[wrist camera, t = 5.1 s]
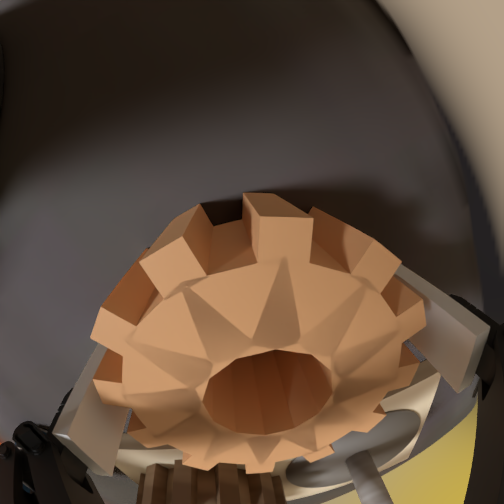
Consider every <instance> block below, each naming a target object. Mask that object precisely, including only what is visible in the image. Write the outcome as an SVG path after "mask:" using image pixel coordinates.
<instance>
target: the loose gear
mask: <svg viewBox="0 0 504 504" xmlns="http://www.w3.org/2000/svg"><path fill="white" fill-rule="evenodd" d="M401 263H402V261H401V260H399V259H398V258H397V257H396V256H395V255H393V254H392V253H391V252H390V251H389V250H387V249H386V248H385V247H384V246H382V245H381V244H380V243H379V242H377V241H376V240H375V239H373V238H372V237H370V236H368V235H366V234H364V233H363V232H361V231H359V230H357V229H355V228H353V227H352V226H350V225H348V224H346V223H344V222H342V221H340V220H338V219H337V218H335V217H333V216H331V215H329V214H327V213H325V212H323V211H321V210H319V209H317V208H315V207H312V208H311V210H310V212H309V213H308V214H306V213H305V212H303V211H302V210H300V209H298V208H297V207H295V206H293V205H292V204H290V203H289V202H287V201H285V200H284V199H282V198H280V197H279V196H277V195H275V194H273V193H243V206H242V219H241V220H237V221H233V222H229V223H225V224H221V225H217V226H213V225H212V223H211V222H210V220H209V218H208V216H207V215H206V213H205V211H204V210H203V208H202V206H201V204H198V205H196V206H195V207H193V208H191V209H189V210H188V211H186V212H184V213H183V214H181V215H179V216H178V217H176V218H174V219H173V220H172V222H171V223H170V224H169V225H168V226H167V228H166V229H165V230H164V231H163V232H162V234H161V235H160V236H159V237H158V239H157V240H156V241H155V242H154V243H153V245H152V246H151V247H150V248H149V249H148V248H146V249H145V251H144V252H143V253H142V254H141V255H140V257H139V258H138V259H137V260H136V262H135V263H134V264H133V265H132V267H131V268H130V269H129V270H128V272H127V273H126V274H125V275H124V277H123V278H122V279H121V281H120V282H119V283H118V284H117V286H116V287H115V288H114V290H113V291H112V292H111V294H110V295H109V296H108V298H107V299H106V300H105V302H104V303H103V304H102V306H101V308H100V310H99V313H98V316H97V319H96V322H95V325H94V328H93V331H92V334H91V337H90V338H91V339H93V340H95V341H96V342H98V343H100V344H102V345H103V346H105V347H107V348H108V349H107V351H106V352H105V354H104V356H103V358H102V360H101V362H100V364H99V366H98V368H97V371H96V373H95V375H94V377H93V382H94V384H95V387H96V389H97V391H98V394H99V396H100V398H101V401H102V403H103V404H108V405H114V406H120V407H127V408H131V409H132V410H133V411H132V414H131V418H130V422H129V426H128V430H127V433H128V434H129V435H130V436H132V437H133V438H134V439H136V440H137V441H138V442H140V443H141V444H142V445H144V446H145V447H147V448H152V447H157V446H162V445H167V444H168V445H170V446H172V447H175V448H177V449H179V450H181V451H183V458H182V464H183V465H187V466H190V467H194V468H198V469H202V470H207V471H208V470H210V469H211V468H212V467H214V466H215V465H216V464H218V463H219V462H221V463H232V464H245V469H246V474H253V473H265V472H273V469H274V465H275V462H279V461H283V460H287V459H292V458H296V457H300V456H303V457H304V458H305V459H306V460H308V461H309V462H310V463H311V462H314V461H316V460H319V459H321V458H324V457H326V456H328V455H331V454H333V453H335V452H334V449H333V446H332V444H331V443H333V442H334V441H336V440H338V439H339V438H341V437H343V436H344V435H346V434H347V433H349V432H351V431H358V432H366V433H367V432H369V431H370V430H371V429H372V428H373V427H374V426H375V425H377V424H378V423H379V422H380V421H381V420H382V419H383V418H384V417H385V416H386V413H385V411H384V410H383V408H382V406H381V405H380V402H381V401H382V399H383V398H384V397H385V395H386V394H387V392H388V391H392V390H396V389H399V388H403V387H406V386H409V385H410V383H411V381H412V379H413V377H414V375H415V373H416V371H417V368H418V366H419V364H420V361H419V360H418V359H417V358H416V357H415V356H414V354H413V353H412V352H411V351H410V350H409V349H408V348H407V347H406V345H405V344H404V343H403V342H404V341H406V340H407V339H408V338H410V337H411V336H413V335H414V334H416V333H417V332H418V331H420V330H421V329H423V328H424V327H425V326H427V325H426V317H425V310H424V304H423V299H422V298H421V297H420V296H418V295H417V294H416V293H414V292H413V291H412V290H411V289H409V288H408V287H407V286H405V285H404V284H403V283H401V282H400V281H399V280H397V279H396V278H395V277H393V275H394V273H395V272H396V270H397V269H398V267H399V266H400V264H401Z"/></svg>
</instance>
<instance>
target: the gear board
mask: <svg viewBox="0 0 504 504" xmlns="http://www.w3.org/2000/svg"><path fill="white" fill-rule="evenodd" d="M440 377H441V374H440V373H439V372H438V371H437V370H436V369H435V368H434V367H433V365H432V364H431V363H430V362H429V361H428V360H425V361H423V362H421V363H420V364H419V366H418V368H417V371H416V373H415V375H414V377H413V379H412V381H411V383H410V385H409V386H406V387H403V388H399V389H396V390H392V391H388V392H387V394H386V395H385V397H384V398H383V399H382V401H381V402H380V405H381V406H382V408H383V410H384V411H385V413H386V416H385V417H384V418H383V419H382V420H381V421H380V422H379V423H378V424H377V425H375V426H374V427H373V428H372V429H371V430H370V431H369V432H367V433H366V432H358V431H351V432H349V433H347V434H346V435H344V436H343V437H341V438H339V439H338V440H336V441H334V442H333V443H331V444H332V446H333V449H334V452H335V453H333V454H331V455H328V456H326V457H324V458H321V459H319V460H316V461H314V462H311V463H310V462H309V461H308V460H306V459H305V458H304V457H303V456H300V457H296V458H292V459H287V460H283V461H279V462H275V465H274V469H273V472H265V473H253V474H246V469H245V464H232V463H221V462H219V463H218V464H216V465H215V466H214V467H212V468H211V469H210V470H208V471H207V470H202V469H198V468H194V467H190V466H187V465H183V464H182V458H183V451H181V450H179V449H177V448H175V447H172V446H170V445H168V444H167V445H162V446H157V447H152V448H147V447H145V446H144V445H142V444H141V443H140V442H138V441H137V440H136V439H134V438H133V437H132V436H130V435H129V434H128V433H123V434H122V437H121V441H120V445H119V449H118V453H117V457H116V461H115V466H116V467H117V468H119V469H120V470H121V471H122V472H123V473H124V474H126V475H127V476H128V477H129V478H131V479H132V480H133V481H134V482H136V483H137V484H138V485H139V487H138V494H137V502H136V504H287V502H286V501H289V500H294V499H298V498H302V497H306V496H310V495H314V494H318V493H321V492H324V491H328V490H331V489H334V488H337V487H340V486H343V485H346V484H349V483H352V482H353V483H354V486H355V488H356V491H357V493H358V496H359V498H360V501H361V503H362V504H393V502H392V500H391V498H390V495H389V493H388V491H387V489H386V487H385V484H384V482H383V480H382V478H381V476H380V474H379V472H380V471H382V470H384V469H386V468H389V467H391V466H393V465H395V464H397V463H399V462H401V461H403V460H405V459H407V458H408V457H409V455H410V453H411V451H412V449H413V447H414V445H415V443H416V440H417V438H418V436H419V434H420V431H421V429H422V427H423V424H424V422H425V419H426V417H427V414H428V412H429V409H430V407H431V404H432V401H433V398H434V395H435V392H436V389H437V386H438V383H439V380H440Z"/></svg>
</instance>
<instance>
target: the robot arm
mask: <svg viewBox="0 0 504 504" xmlns="http://www.w3.org/2000/svg"><path fill="white" fill-rule="evenodd" d="M3 80H4V59H3V51H2V46H1V43H0V111H1V103H2V94H3ZM393 277H395V278H396V279H397V280H399V281H400V282H401V283H403V284H404V285H405V286H407V287H408V288H409V289H411V290H412V291H413V292H414V293H416V294H417V295H418V296H420V297H421V298H422V299H423V304H424V310H425V317H426V325H427V326H425V327H424V328H423V329H421V330H420V331H418V332H417V333H416V334H414V335H413V336H411V337H410V338H408V339H409V341H410V342H411V343H412V344H413V345H414V346H415V347H416V348H417V349H418V350H419V351H420V352H421V353H422V354H423V356H424V357H425V358H426V359H427V360H428V361H429V362H430V363H431V364H432V365H433V367H434V368H435V369H436V370H437V371H438V372H439V373H440V374H441V375H442V377H443V378H444V379H445V380H446V381H447V382H448V383H449V385H450V386H451V387H452V388H453V389H454V390H455V391H456V393H459V392H460V391H462V390H463V389H465V388H466V387H468V386H469V385H471V383H472V381H473V378H474V376H475V373H476V374H477V375H478V376H479V377H480V379H479V381H478V384H477V386H476V388H475V390H474V393H473V396H472V397H475V396H476V393H477V391H478V413H477V429H476V439H475V448H474V456H473V462H472V468H471V474H470V478H469V484H468V488H467V492H466V496H465V500H464V504H504V323H503V324H501V325H499V324H498V323H496V322H495V321H494V320H492V319H491V318H490V317H488V316H487V315H486V314H484V313H483V312H482V311H480V310H479V309H476V307H475V306H473V305H472V304H471V305H470V303H469V302H467V301H466V300H465V299H463V298H461V297H458V296H455V295H452V294H451V295H449V296H448V295H446V294H445V293H444V292H442V291H441V290H439V289H438V288H436V287H435V286H433V285H432V284H431V283H429V282H428V281H426V280H425V279H423V278H422V277H420V276H419V275H417V274H416V273H414V272H413V271H411V270H409V269H408V268H406V267H405V266H403V265H402V264H400V266H399V267H398V269H397V270H396V272H395V273H394V275H393ZM107 349H108V348H107V347H105V346H103V345H102V344H100V343H98V345H97V346H96V348H95V350H94V351H93V353H92V355H91V357H90V359H89V360H88V362H87V364H86V366H85V368H84V369H83V371H82V373H81V375H80V377H79V379H78V381H77V382H76V384H75V386H74V388H72V389H71V390H70V391H69V392H68V393H67V394H66V395H65V397H64V399H63V401H62V403H61V406H60V407H59V409H58V413H56V415H55V417H54V419H53V421H52V423H51V425H50V427H49V430H48V432H47V434H46V435H45V434H44V433H43V432H42V431H41V430H40V429H39V428H38V427H37V426H36V424H35V423H33V422H32V421H26V422H23V423H21V424H20V425H19V426H18V427H17V428H16V429H15V431H14V433H13V440H14V441H15V442H16V443H17V444H18V445H19V446H20V447H21V448H22V449H19V448H18V447H17V446H16V445H15V444H14V443H12V442H10V441H7V442H4V443H2V444H1V445H0V504H104V502H103V500H102V498H101V496H100V494H99V493H98V491H97V489H96V487H95V485H94V483H93V481H92V479H91V477H90V476H89V475H88V474H87V473H86V471H87V468H89V469H91V470H92V471H93V472H94V473H95V474H97V475H104V476H112V475H113V470H114V466H115V461H116V457H117V453H118V449H119V445H120V441H121V437H122V434H123V430H124V426H125V423H126V419H127V415H128V412H129V408H127V407H120V406H114V405H108V404H103V403H102V401H101V398H100V396H99V394H98V391H97V389H96V387H95V384H94V382H93V377H94V375H95V373H96V371H97V368H98V366H99V364H100V362H101V360H102V358H103V356H104V354H105V352H106V351H107ZM23 484H24V485H26V486H27V487H28V488H30V493H28V492H26V491H25V490H24V489H23Z"/></svg>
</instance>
